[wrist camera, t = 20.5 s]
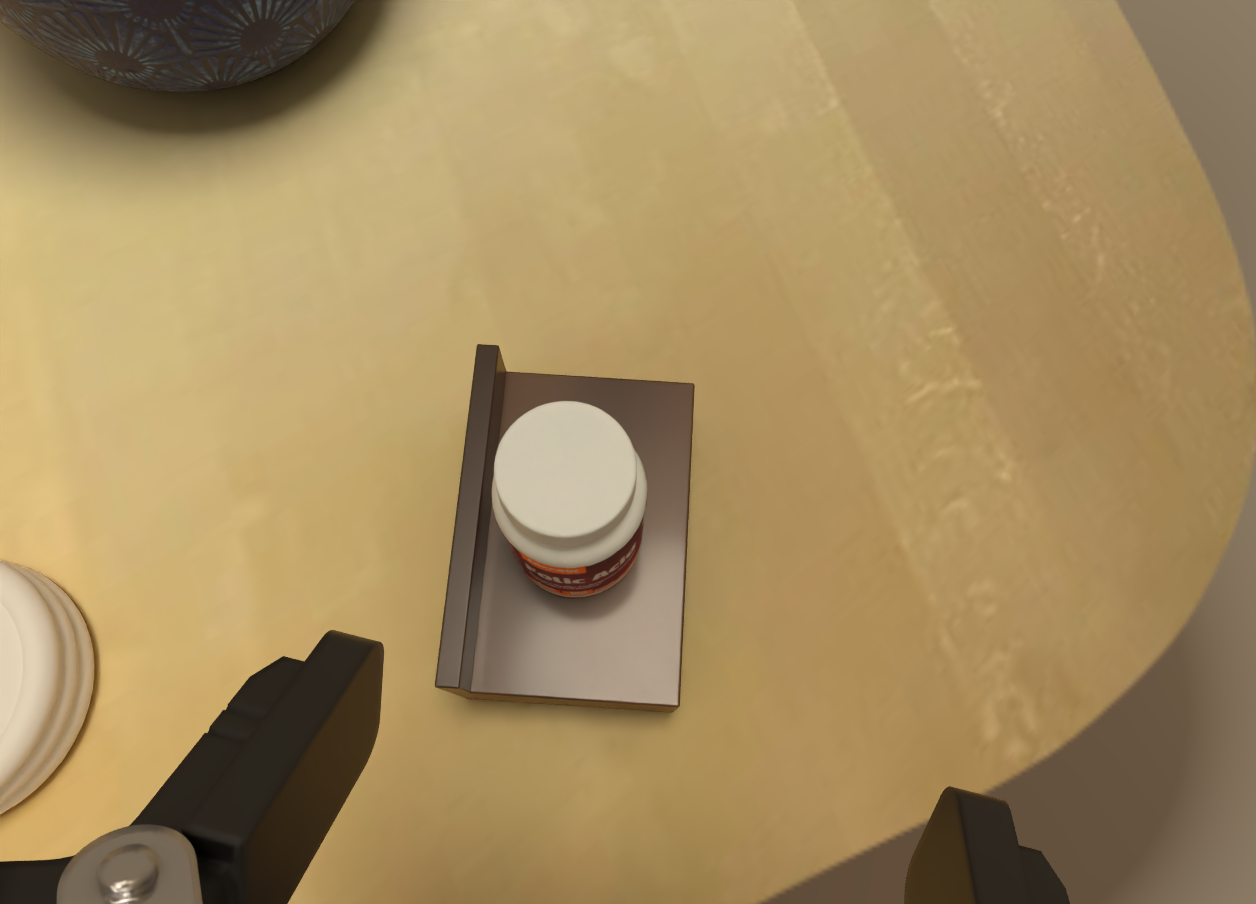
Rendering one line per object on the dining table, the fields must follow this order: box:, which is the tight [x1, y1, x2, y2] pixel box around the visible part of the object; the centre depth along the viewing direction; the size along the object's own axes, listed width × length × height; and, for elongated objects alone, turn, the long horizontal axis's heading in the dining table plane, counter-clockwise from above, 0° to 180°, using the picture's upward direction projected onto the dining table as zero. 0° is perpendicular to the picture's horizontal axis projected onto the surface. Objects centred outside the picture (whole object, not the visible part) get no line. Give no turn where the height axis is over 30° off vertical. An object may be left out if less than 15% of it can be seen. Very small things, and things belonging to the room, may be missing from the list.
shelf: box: [435, 344, 694, 712], centre depth 35 cm, size 8×12×6 cm, turn 176°
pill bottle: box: [491, 401, 647, 597], centre depth 30 cm, size 5×5×8 cm
